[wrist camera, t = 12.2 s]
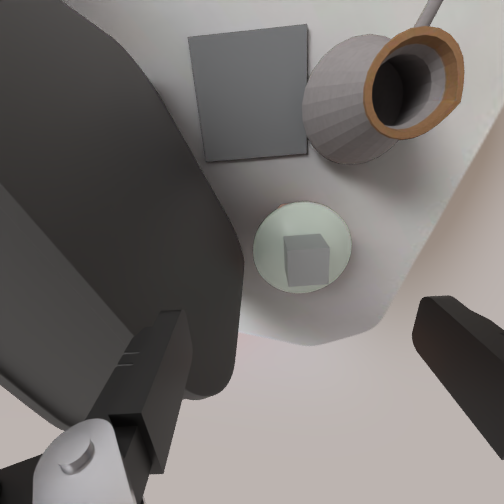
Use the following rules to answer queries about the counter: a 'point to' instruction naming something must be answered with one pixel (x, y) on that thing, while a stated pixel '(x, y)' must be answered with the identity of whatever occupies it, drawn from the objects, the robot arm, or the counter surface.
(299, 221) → the lid
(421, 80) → the coffee pot
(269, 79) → the mat
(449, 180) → the counter surface
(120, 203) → the speaker
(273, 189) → the counter surface
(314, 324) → the counter surface
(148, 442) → the robot arm
